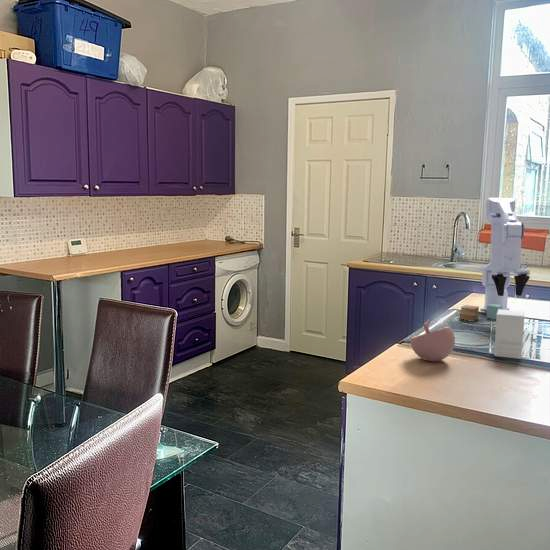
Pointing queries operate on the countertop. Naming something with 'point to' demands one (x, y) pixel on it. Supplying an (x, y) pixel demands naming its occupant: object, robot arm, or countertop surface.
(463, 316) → the tower base
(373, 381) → the countertop surface
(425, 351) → the pink apple
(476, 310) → the tower top
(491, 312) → the teal block
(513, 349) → the supplement box
